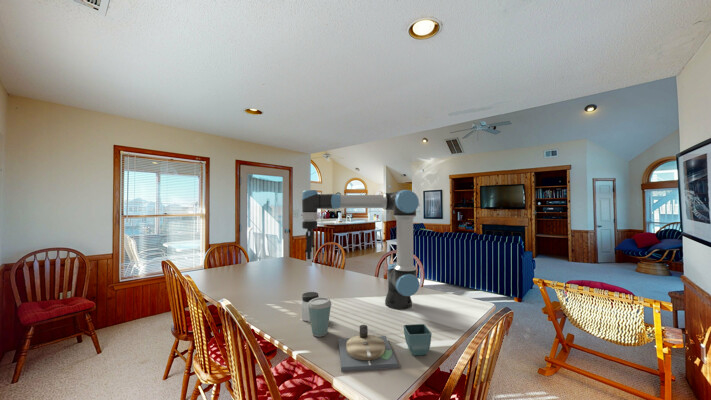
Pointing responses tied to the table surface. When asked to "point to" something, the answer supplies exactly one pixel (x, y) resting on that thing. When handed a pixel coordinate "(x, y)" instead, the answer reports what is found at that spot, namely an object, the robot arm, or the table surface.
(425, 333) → the flower pot
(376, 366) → the tuner base
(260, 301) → the table surface
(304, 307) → the jar
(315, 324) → the disposable coffee cup
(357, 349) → the dial
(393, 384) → the table surface
